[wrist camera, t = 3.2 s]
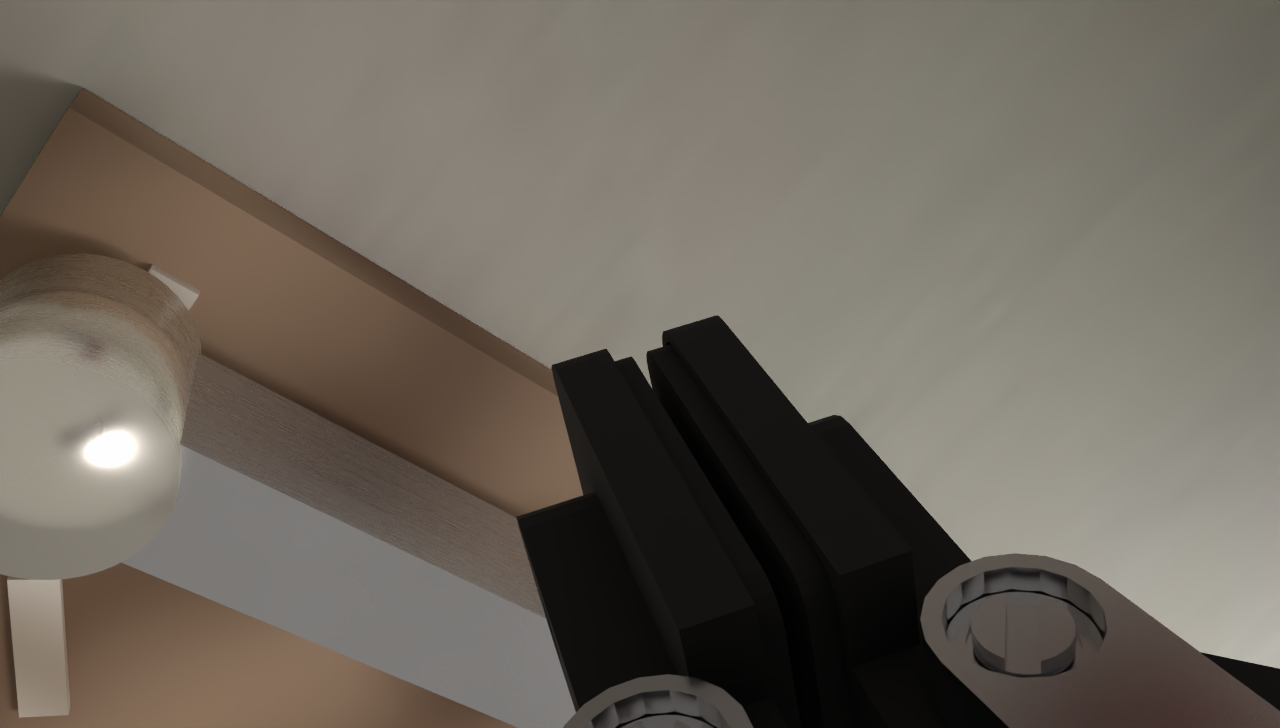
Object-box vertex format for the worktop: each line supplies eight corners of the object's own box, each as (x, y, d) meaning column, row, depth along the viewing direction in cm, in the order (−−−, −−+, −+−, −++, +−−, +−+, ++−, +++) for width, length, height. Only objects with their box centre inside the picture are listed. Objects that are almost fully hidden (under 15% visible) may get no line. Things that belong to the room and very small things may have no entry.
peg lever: (816, 603, 24) (893, 729, 20) (683, 752, 25) (737, 893, 21) (60, 178, 16) (0, 274, 13) (-88, 412, 17) (-177, 551, 14)
